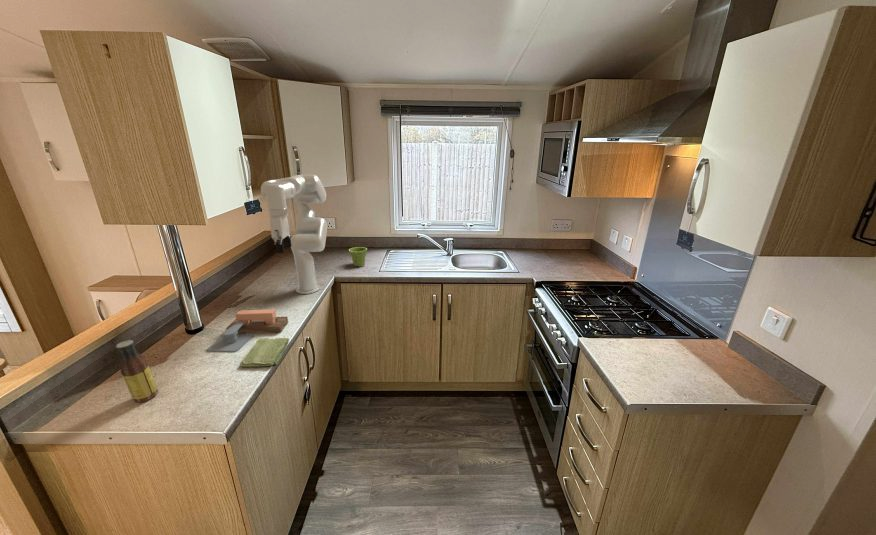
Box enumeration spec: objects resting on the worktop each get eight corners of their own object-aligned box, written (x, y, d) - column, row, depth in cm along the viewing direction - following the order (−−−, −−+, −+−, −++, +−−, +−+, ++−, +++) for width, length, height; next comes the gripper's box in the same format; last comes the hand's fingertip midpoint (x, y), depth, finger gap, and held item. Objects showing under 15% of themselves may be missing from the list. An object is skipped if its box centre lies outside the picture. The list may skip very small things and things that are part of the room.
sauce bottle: (149, 388, 110) (131, 335, 103) (163, 392, 108) (145, 338, 102) (127, 402, 104) (105, 346, 97) (141, 406, 102) (121, 350, 96)
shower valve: (255, 321, 142) (234, 340, 128) (258, 332, 144) (236, 353, 130) (227, 321, 142) (202, 340, 128) (229, 332, 144) (205, 352, 130)
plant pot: (371, 265, 226) (370, 249, 222) (357, 269, 218) (355, 253, 214) (361, 261, 234) (360, 245, 230) (346, 265, 225) (345, 249, 221)
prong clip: (243, 326, 148) (239, 310, 145) (278, 325, 149) (275, 309, 146) (239, 330, 145) (235, 314, 142) (275, 329, 146) (271, 313, 143)
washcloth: (238, 370, 120) (236, 362, 118) (259, 343, 136) (257, 336, 135) (276, 368, 120) (274, 361, 119) (292, 341, 137) (291, 335, 136)
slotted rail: (237, 324, 150) (236, 318, 149) (288, 322, 152) (287, 316, 151) (227, 334, 142) (225, 328, 141) (280, 332, 143) (279, 326, 142)
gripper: (277, 209, 156) (282, 244, 162) (261, 216, 140) (268, 255, 146) (293, 209, 157) (298, 244, 162) (279, 216, 140) (285, 255, 146)
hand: (284, 249), depth 154 cm, fingers open, 9 cm apart
